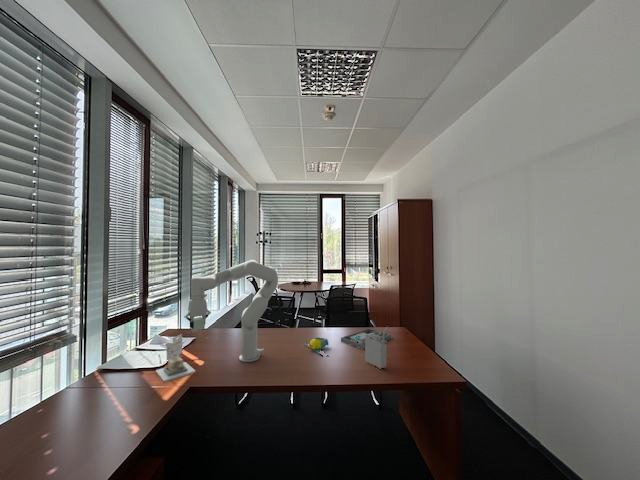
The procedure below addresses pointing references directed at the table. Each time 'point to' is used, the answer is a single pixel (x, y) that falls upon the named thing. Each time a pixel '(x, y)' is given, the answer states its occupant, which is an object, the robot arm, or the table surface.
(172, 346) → the ink cartridge box
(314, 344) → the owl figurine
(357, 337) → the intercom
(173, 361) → the maple block
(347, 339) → the desk tray
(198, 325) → the sage block
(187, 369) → the baseplate
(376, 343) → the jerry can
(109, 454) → the table surface
